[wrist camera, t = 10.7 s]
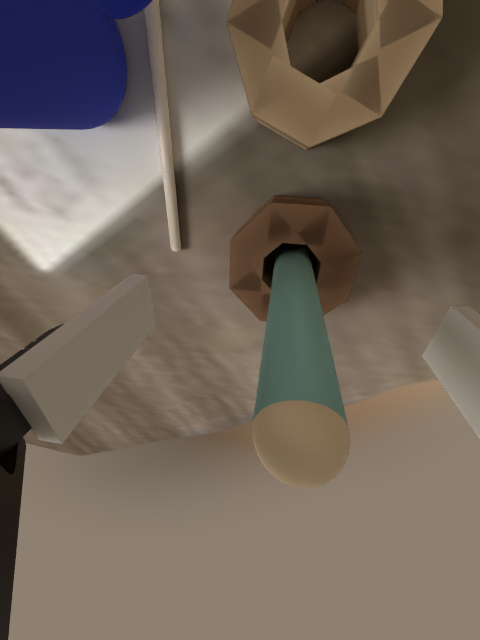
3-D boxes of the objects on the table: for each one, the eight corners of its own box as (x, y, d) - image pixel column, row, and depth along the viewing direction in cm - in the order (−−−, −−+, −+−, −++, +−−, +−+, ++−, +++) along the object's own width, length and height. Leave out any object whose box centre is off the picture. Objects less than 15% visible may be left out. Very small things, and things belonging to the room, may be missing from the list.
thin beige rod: (182, 250, 20) (179, 253, 20) (173, 249, 20) (169, 252, 20) (157, -46, 12) (149, -57, 12) (142, -45, 12) (133, -57, 12)
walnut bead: (237, 295, 22) (229, 316, 19) (240, 193, 17) (231, 200, 15) (331, 306, 21) (338, 329, 18) (359, 201, 17) (375, 209, 14)
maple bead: (269, 165, 16) (265, 166, 13) (223, -9, 13) (204, -60, 10) (408, 106, 14) (441, 91, 11) (401, -132, 10) (447, -251, 7)
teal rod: (273, 269, 20) (243, 495, 6) (277, 237, 19) (249, 440, 5) (305, 272, 20) (343, 516, 6) (312, 240, 18) (377, 463, 5)
